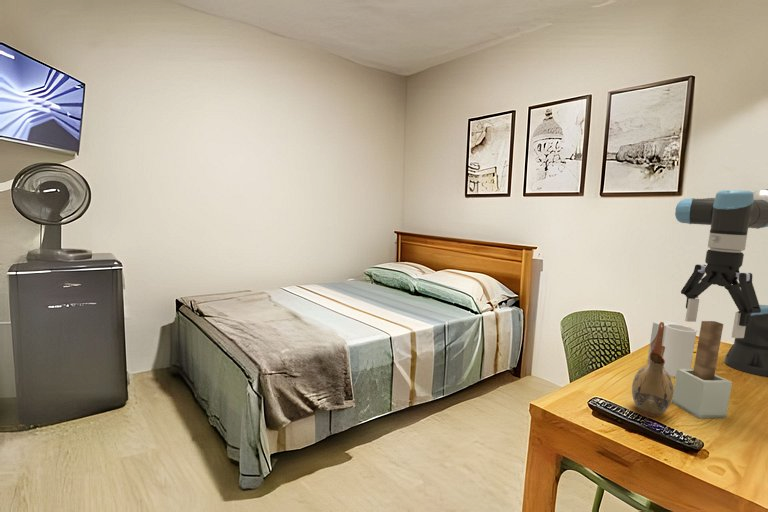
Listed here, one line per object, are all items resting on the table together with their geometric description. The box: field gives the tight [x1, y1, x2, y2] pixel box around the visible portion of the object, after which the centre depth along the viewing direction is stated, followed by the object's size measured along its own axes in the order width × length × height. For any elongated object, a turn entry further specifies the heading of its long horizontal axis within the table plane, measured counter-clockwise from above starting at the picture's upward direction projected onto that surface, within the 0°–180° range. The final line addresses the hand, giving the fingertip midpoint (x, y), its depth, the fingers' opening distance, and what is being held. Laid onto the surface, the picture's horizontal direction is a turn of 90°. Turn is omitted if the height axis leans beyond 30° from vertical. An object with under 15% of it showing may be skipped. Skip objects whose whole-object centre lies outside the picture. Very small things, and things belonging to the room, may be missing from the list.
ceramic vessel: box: [631, 321, 674, 418], centre depth 108 cm, size 16×9×25 cm, turn 146°
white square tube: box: [671, 368, 733, 419], centre depth 112 cm, size 8×8×10 cm
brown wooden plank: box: [693, 320, 724, 380], centre depth 111 cm, size 4×2×24 cm, turn 98°
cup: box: [663, 323, 697, 378], centre depth 137 cm, size 8×8×16 cm
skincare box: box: [647, 320, 681, 362], centre depth 145 cm, size 8×6×15 cm
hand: (712, 329), depth 110 cm, fingers open, 13 cm apart
